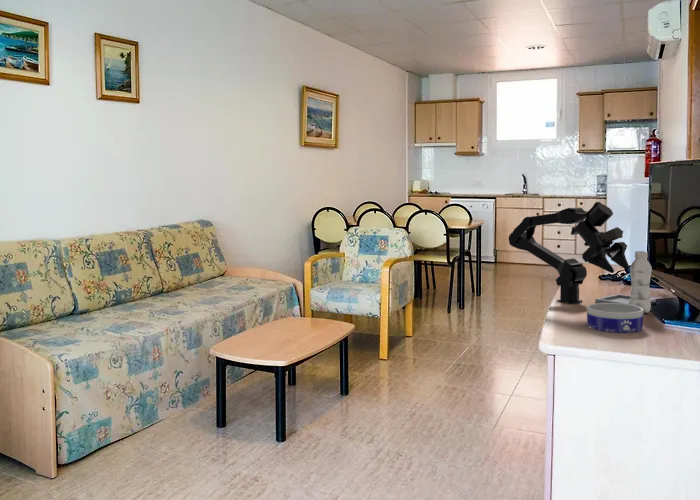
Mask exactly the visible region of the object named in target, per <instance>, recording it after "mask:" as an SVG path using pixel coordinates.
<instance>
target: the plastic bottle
mask: <svg viewBox="0 0 700 500" xmlns="http://www.w3.org/2000/svg"><path fill="white" fill-rule="evenodd" d="M648 258H649V257H648V251H644V250H643V251H642V250H641V251H638V250H637V251H634V260H633V261H632V263H631V265H630V266H629V267H630V269H629V270H630V271H629V272H630V278H631V279H630V280H631V282H630V283H631V290H630V296H631V298H630V301H629V304H631V305H635V306H639V307H641V308H643V314H646V313H647V314H648V313H649V312H650V311H651V307H652V305H651V302H650V299H651V297H650V294H651V293H650V283H651V278H652V277H651V276H652V272H653V270H652V269H653V268H652V265H651V263H650V262H649V260H648Z"/></svg>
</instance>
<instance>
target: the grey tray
mask: <svg viewBox="0 0 700 500" xmlns="http://www.w3.org/2000/svg"><path fill="white" fill-rule="evenodd" d="M630 298H631V295H629V294H628V295H627V294H621V293H618V294H614V295H608V296H602V297H598V298H595V299H594V300H595V303H594V304H596V303H623V304H629V301H630ZM650 302H657V300H656V299H654V298H650Z"/></svg>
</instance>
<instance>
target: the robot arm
mask: <svg viewBox="0 0 700 500" xmlns="http://www.w3.org/2000/svg"><path fill="white" fill-rule="evenodd" d="M612 216H614V212H613V210H612V209H611V208H610V207H609V206H607V205H606V204H602V202H601V201H595V203H594V204H593V206H591V208H590V209H588V211H587V210H584V209H583V207H580V206H577V207H567V208H564V209H561V210H559V211H556V212H553V213H547V214H541V215H540V214H539V215H531V216H529V215H528V216H525V217H524V218H523V219H522V220H521V222H520V223H519V224H518V225H517V226H516V227H515V228H514V229H513V231H512V232H511V233H510V234H509V236H508V244H509V245H510V246H511V247H513V248H515V249H518V250H522V251H525V252H528V253H530V254H531V255H533V256H534V257H536V258H537V259H539V260H540V261H543V262H544V263H545V264H547V265H549V266H551V267H552V268H554V269H555V270H556V271H557V273H558V275H559V276H558V277H557V278H556V279H555V282H556V285H557V286H560V288H559V289H560V294H559V297H560V298H559V299H556V302H560V303H565V304H569V305H570V304H572V305H573V304H576V303H577V304H578V303H581V302H583V299H580V285H583V283H584V280H585V279H586V277H587V274H588V272H587V267H586V266H585V265H584V263H583V262H580V261H578V260H577V259H575V258H573V257H572V258H567V259H565V258H563V257H561V256H560V255H558V254H557V253H555V252H553V251H552V250H550V249H548V248H546V247H545V246H544V245H542V244H540V243H539V242H537V241H536V239H535V237H534V235H535V231H536V227H537V226H544V225H552V224H561V225H564V224H565V225H573V224H574V225H575V224H577V225H576V226H572V227H571V231H570V235H571V236H575V235H577V236H578V235H579V236H580V238H581V239H582V240H583V241H584V244H583V246H585V247H588V248H587V249H586V250H585V251H584V252H583V253H582V254H581V255H582V256H581V258H582V260H583V261H584V262H585V263H588V264H591V265H593V266H596V267H598V268H601V269H603V270H604V271H607V272H608V273H610V274H612V273H615V269H614V268H613V266H612V265H611V263H610V261H612V262H614V263H615V264H617V265H618V266H619V267H621V268H623V269H624V270H626V271H629V270H630V267H631V266H629V265H630V264H629V262H628V260H627V258H626V255H625V252H626V250H627V248H628V245H627V244H626V243H625V242H624V241H617V242H614V241H616V240H618V239H622V238H623V234H624V230H622V229H621V228H619V227H618V226H617V227H614V228H612V229H609V230H607V231H600V230H598V229H597V227H599V228H601V227H602V226H603V225H605V224H606V222H607V221H608V220H609V219H610V218H611V217H612ZM606 256H607V257H608V258H610V261H608V259H607V258H606Z"/></svg>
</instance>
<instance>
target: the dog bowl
mask: <svg viewBox="0 0 700 500" xmlns="http://www.w3.org/2000/svg"><path fill="white" fill-rule="evenodd" d="M586 323H587V325H588V326H589V327H591V328H593V329H592V330H594V329H596V330H595V331H598V330H600V331H599V332H603V331H604V332H605V333H612V334H615V333H616V334H630V333H632V334H633V333H637V332H641V331H642V330H643V326H644V324H643V323H644V313H643V308H641V307H639V306H635V305H631V304H623V303H591V304H588V305H587V306H586ZM588 326H587V327H588ZM589 327H588V328H589ZM591 328H590V329H591Z"/></svg>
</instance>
